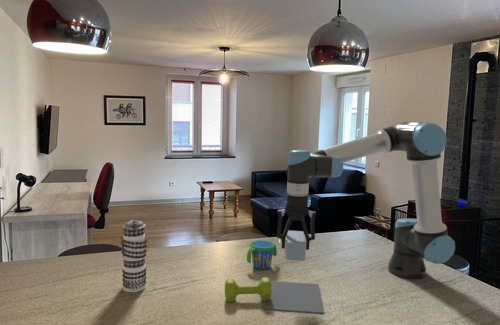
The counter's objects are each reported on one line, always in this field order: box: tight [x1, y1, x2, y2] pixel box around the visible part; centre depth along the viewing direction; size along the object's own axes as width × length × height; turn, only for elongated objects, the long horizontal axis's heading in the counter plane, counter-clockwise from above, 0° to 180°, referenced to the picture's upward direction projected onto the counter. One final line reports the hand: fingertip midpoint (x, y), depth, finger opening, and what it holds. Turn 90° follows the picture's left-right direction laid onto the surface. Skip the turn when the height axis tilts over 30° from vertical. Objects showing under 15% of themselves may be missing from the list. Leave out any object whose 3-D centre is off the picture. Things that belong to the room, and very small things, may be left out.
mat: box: [263, 280, 325, 315], centre depth 139 cm, size 20×22×1 cm
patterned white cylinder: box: [120, 219, 148, 293], centre depth 141 cm, size 9×9×25 cm
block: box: [286, 230, 306, 262], centre depth 135 cm, size 6×6×14 cm
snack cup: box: [246, 239, 278, 270], centre depth 165 cm, size 16×10×10 cm
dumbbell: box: [224, 276, 272, 303], centre depth 135 cm, size 16×8×7 cm, turn 93°
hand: (294, 257), depth 137 cm, fingers closed on block, 6 cm apart
